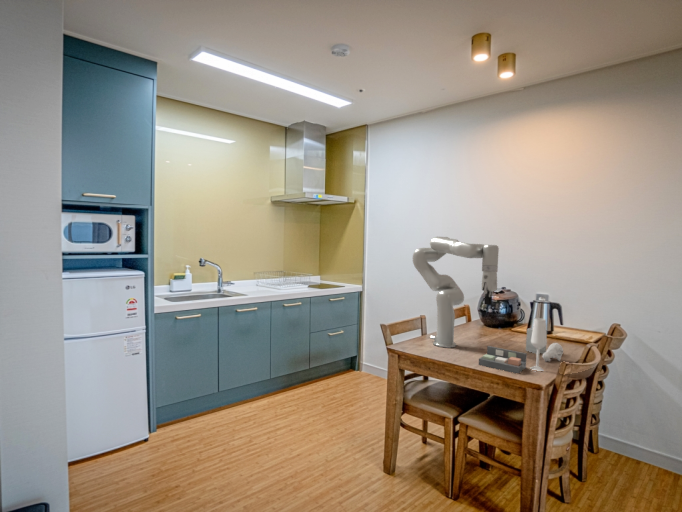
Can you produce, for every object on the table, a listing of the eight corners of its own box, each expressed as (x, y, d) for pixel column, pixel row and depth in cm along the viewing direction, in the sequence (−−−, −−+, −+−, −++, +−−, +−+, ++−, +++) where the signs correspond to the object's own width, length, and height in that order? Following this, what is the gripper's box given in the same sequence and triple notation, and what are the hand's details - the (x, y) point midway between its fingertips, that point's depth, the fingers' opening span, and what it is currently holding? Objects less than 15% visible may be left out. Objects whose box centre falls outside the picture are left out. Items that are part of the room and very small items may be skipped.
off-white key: (494, 363, 190) (495, 358, 190) (497, 361, 194) (498, 356, 194) (504, 366, 187) (504, 360, 187) (507, 363, 191) (507, 358, 191)
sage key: (482, 361, 194) (482, 356, 194) (485, 359, 198) (485, 354, 197) (491, 363, 191) (491, 358, 191) (494, 361, 195) (495, 356, 195)
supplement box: (537, 354, 214) (538, 331, 214) (525, 350, 221) (526, 328, 220) (546, 353, 218) (547, 330, 217) (534, 349, 224) (535, 327, 224)
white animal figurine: (564, 343, 204) (549, 348, 198) (564, 360, 205) (550, 365, 199) (553, 340, 210) (538, 345, 204) (553, 356, 210) (538, 361, 205)
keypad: (478, 364, 193) (479, 350, 193) (487, 359, 202) (488, 345, 202) (518, 374, 181) (519, 358, 181) (525, 367, 191) (526, 353, 190)
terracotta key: (507, 364, 186) (508, 358, 186) (511, 362, 190) (511, 356, 190) (518, 366, 183) (518, 360, 183) (521, 364, 187) (521, 358, 187)
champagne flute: (526, 367, 192) (529, 317, 191) (540, 367, 192) (542, 317, 191) (534, 371, 185) (536, 320, 184) (548, 372, 185) (551, 320, 184)
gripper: (492, 270, 198) (490, 307, 198) (502, 268, 209) (500, 303, 210) (477, 268, 202) (475, 305, 203) (487, 267, 214) (485, 302, 215)
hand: (487, 304), depth 207 cm, fingers closed
